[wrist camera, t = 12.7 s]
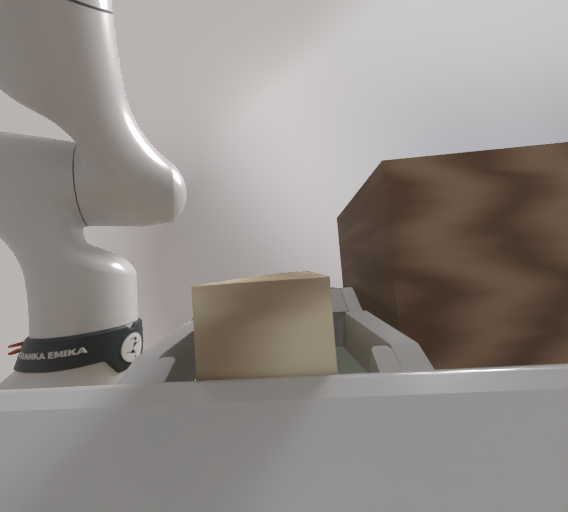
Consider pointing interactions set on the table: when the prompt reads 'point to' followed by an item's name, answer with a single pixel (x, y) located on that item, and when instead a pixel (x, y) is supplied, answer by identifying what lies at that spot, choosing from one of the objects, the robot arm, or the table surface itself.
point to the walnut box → (466, 254)
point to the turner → (264, 327)
